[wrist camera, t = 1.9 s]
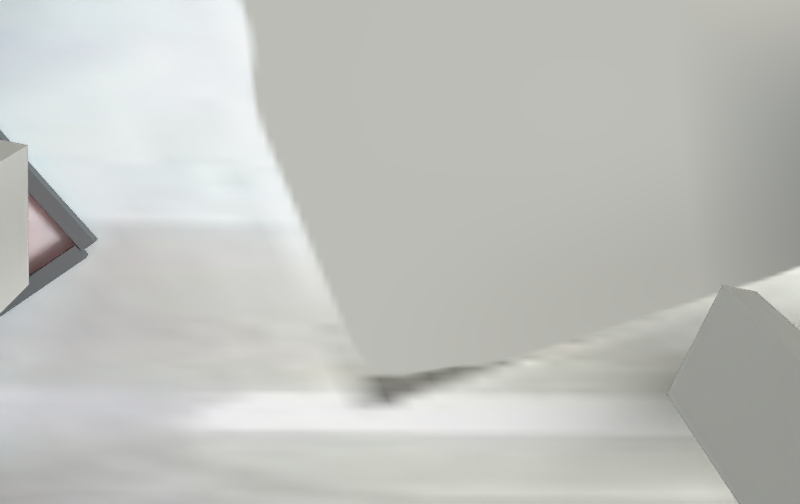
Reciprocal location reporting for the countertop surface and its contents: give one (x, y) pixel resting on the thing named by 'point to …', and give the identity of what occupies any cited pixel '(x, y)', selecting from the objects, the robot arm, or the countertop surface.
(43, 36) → the countertop surface
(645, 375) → the countertop surface
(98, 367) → the countertop surface
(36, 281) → the frame
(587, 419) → the countertop surface
